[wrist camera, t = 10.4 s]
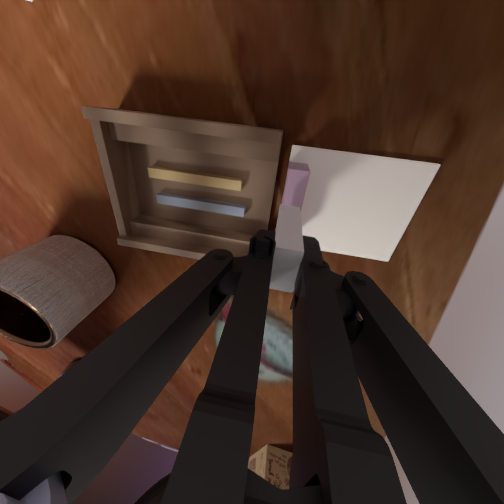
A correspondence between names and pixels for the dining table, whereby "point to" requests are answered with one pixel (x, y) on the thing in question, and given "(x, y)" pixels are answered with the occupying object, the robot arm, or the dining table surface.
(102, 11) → the dining table surface
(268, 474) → the box
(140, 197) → the pencil case
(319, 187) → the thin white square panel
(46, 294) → the planter
